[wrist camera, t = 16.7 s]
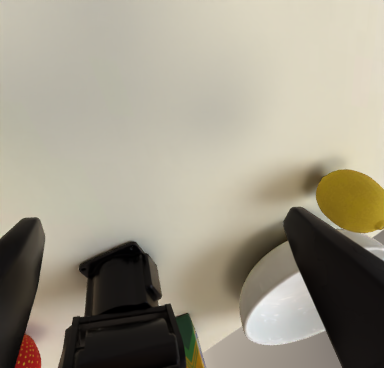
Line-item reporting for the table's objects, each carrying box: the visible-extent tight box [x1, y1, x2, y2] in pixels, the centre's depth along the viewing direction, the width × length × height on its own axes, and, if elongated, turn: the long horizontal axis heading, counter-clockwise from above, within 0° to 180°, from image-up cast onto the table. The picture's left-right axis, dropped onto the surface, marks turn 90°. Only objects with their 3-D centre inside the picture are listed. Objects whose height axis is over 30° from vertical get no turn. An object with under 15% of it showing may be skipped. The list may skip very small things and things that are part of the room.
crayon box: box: [176, 313, 206, 368], centre depth 36 cm, size 7×3×12 cm, turn 10°
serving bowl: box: [239, 229, 384, 345], centre depth 34 cm, size 21×21×7 cm
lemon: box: [316, 170, 384, 233], centre depth 25 cm, size 6×6×8 cm
